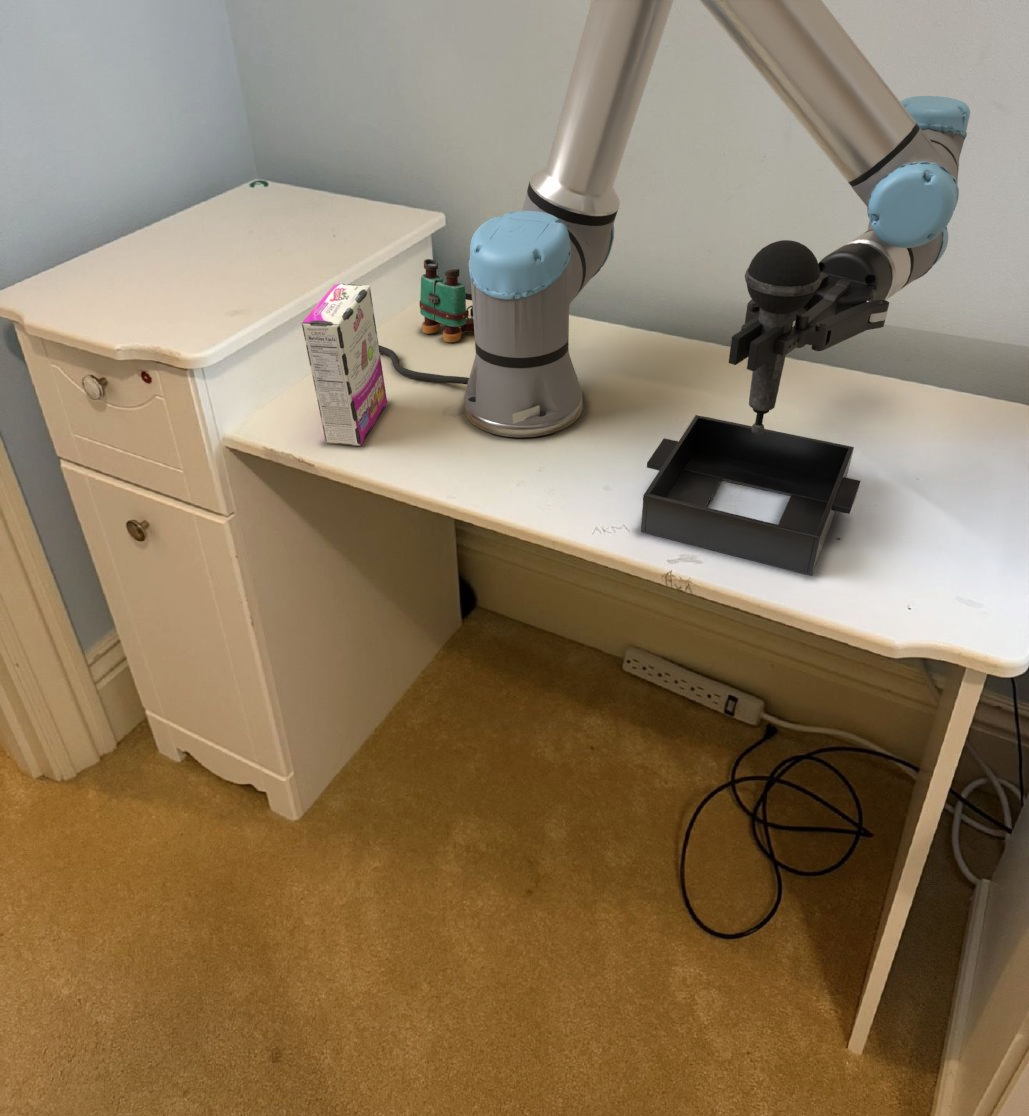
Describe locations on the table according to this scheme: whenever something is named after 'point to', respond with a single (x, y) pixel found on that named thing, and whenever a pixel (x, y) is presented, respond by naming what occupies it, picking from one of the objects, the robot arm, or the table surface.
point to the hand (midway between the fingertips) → (743, 353)
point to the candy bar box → (345, 363)
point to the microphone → (778, 309)
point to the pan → (756, 462)
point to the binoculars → (444, 303)
